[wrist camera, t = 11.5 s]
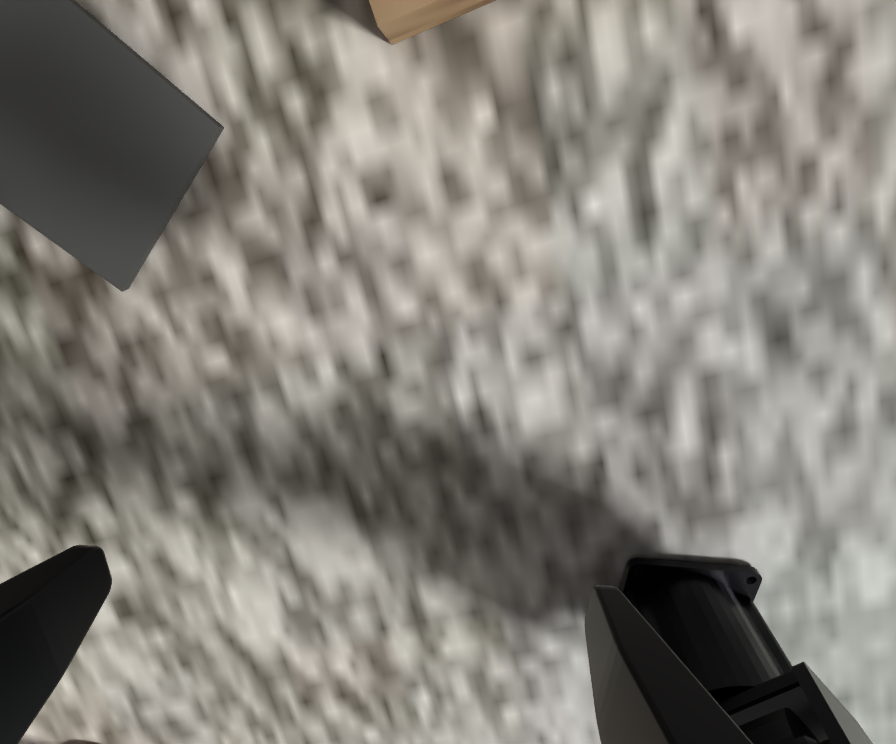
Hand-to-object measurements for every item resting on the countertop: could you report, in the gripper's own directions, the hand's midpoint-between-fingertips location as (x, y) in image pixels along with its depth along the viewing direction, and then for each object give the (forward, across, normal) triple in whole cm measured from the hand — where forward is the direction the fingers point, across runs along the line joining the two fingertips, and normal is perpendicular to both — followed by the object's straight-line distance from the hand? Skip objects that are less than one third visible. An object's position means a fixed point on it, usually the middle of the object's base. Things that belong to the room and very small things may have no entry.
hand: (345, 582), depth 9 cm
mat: (+13, +13, -7) cm, 20 cm away
